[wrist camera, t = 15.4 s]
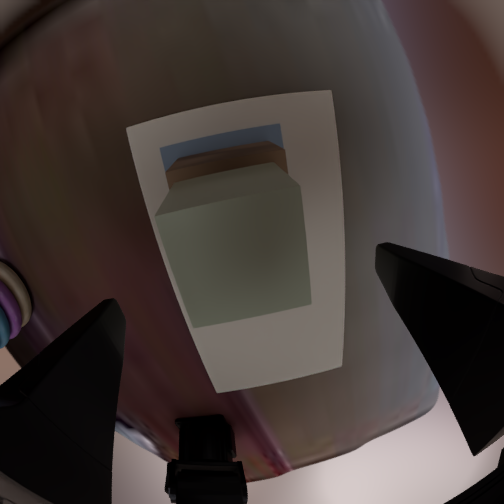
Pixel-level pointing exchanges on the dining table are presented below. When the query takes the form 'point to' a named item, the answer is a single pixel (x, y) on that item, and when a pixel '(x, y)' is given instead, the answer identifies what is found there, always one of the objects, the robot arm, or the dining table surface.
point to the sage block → (236, 244)
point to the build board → (316, 226)
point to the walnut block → (226, 161)
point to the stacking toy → (12, 304)
